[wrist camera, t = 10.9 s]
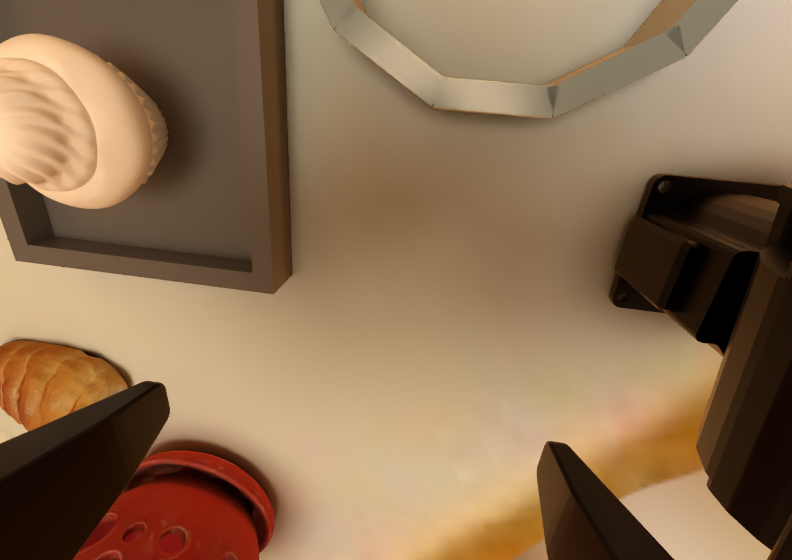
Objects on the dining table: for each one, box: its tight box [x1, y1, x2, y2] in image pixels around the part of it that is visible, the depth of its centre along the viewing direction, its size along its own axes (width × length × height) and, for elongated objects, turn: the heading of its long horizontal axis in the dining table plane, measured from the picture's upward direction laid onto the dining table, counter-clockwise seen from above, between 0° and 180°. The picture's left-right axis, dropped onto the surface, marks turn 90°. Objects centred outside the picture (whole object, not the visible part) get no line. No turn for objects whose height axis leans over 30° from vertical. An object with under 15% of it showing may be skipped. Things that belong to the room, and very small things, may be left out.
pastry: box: [0, 340, 128, 431], centre depth 25 cm, size 9×7×4 cm
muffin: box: [0, 34, 169, 209], centre depth 14 cm, size 6×6×7 cm
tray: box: [0, 0, 292, 294], centre depth 17 cm, size 14×14×2 cm
